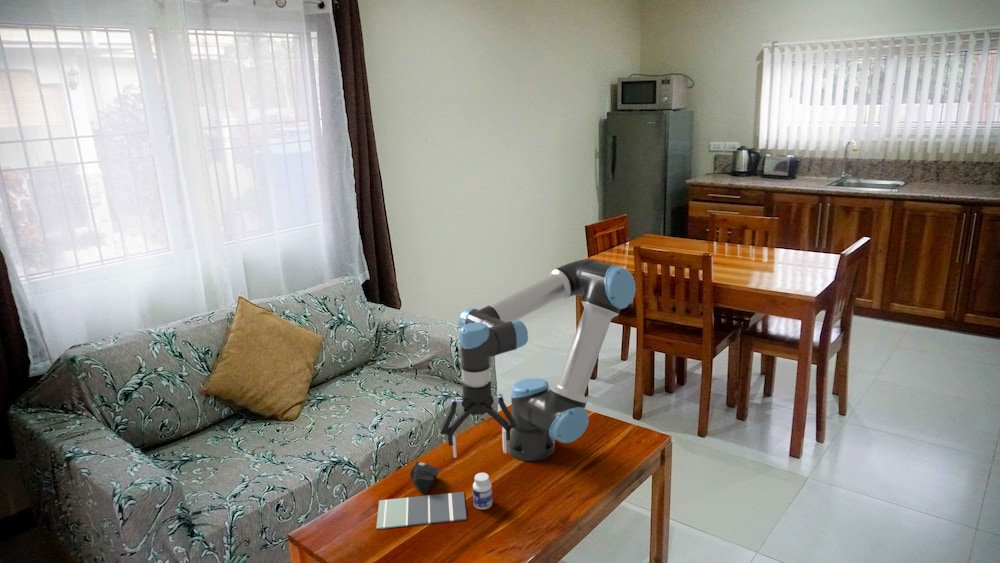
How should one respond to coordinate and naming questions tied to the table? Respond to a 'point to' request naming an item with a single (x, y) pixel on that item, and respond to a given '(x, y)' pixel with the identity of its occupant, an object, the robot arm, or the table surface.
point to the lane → (421, 510)
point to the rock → (423, 476)
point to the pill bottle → (482, 491)
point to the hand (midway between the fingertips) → (479, 452)
